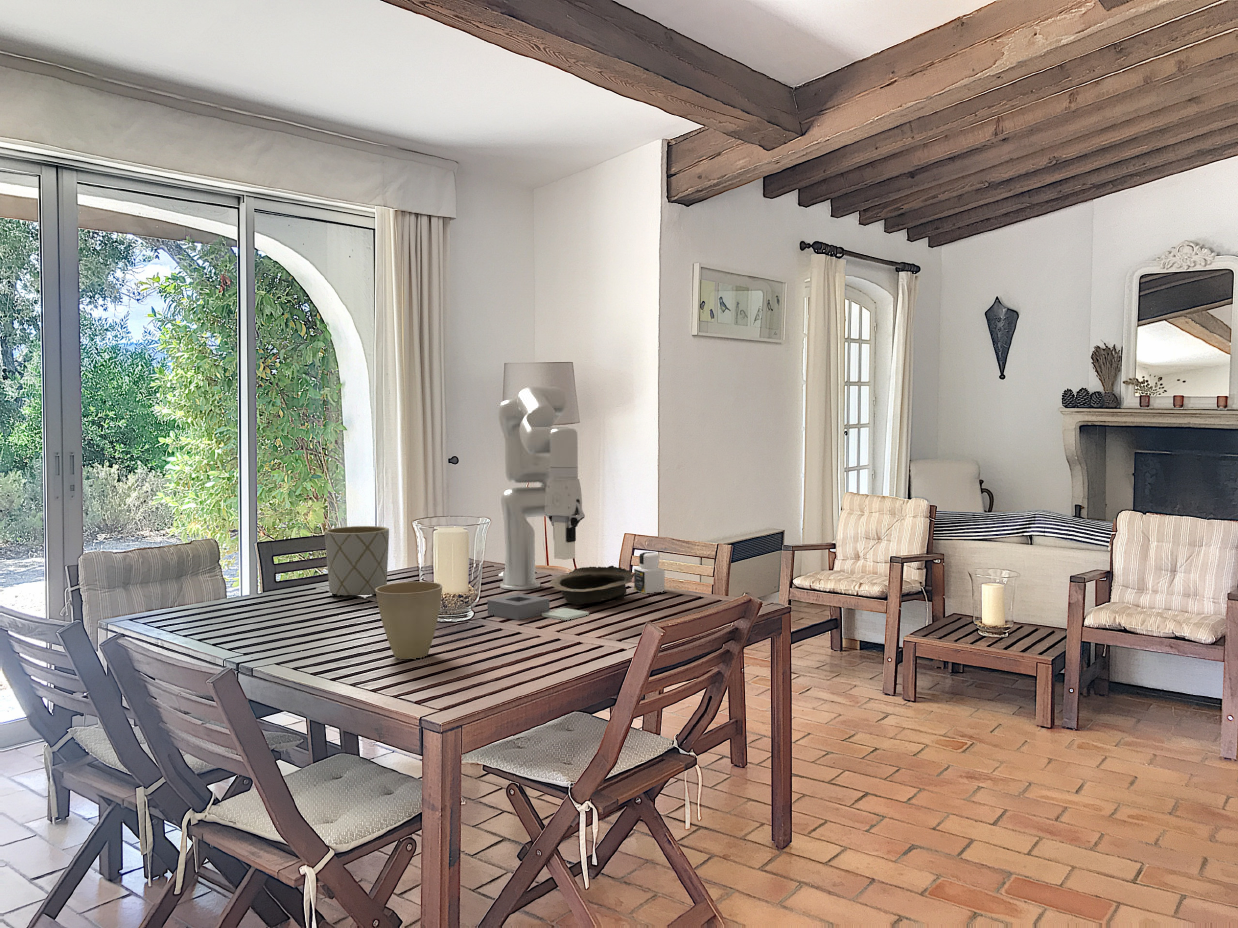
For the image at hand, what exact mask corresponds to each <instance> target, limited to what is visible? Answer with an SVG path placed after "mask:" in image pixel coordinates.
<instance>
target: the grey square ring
mask: <svg viewBox="0 0 1238 928" xmlns="http://www.w3.org/2000/svg"><path fill="white" fill-rule="evenodd" d="M486 601H487V615H488V614H489V616H493V615H494V617H499V618H506V619H511V620H516V621H520V620H525V619H529V618H533V617H534V618H535V617H538V616H542V613H545V612H550V597H549V598H548V597H542V596H536V595H530V594H524V593H514V594H510V595H506V596H505V595H504V596H499V597H495V598H491V599H486Z"/></svg>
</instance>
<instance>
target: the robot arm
mask: <svg viewBox="0 0 1238 928" xmlns="http://www.w3.org/2000/svg"><path fill="white" fill-rule="evenodd" d="M566 408H567V396H566V394H565V392H564V391H563V390H562V388H560V387H559V386H529V387H528V386H527V387H524V388H523V389H522V390H520V391H519V393H518V394H517V397H516V398H510V399H505V400H503V401H502V402H501V403H500V404H499V407H498V421H499V425H500V428H501V431H502V433H503V438H504V463H505V465H504V466H505V468H504V469H505V476H506V479H507V481H509V482H511V483H514V484H530V483H531V484H535V483H536V484H537V483H538V484H539V486H530V487H529V486H525V487H524V486H523V487H511V488H508V489H506V490H504V492H503V493H501V494H502V495H501V497H500V503H501V509H502V516H503V527H504V570H503V571H502V572H501V573H498V578H500V579H502V582H500V584H499V585H500V588H501V589H504V590H510V591H511V590H512V591H515V590H516V591H523V590H532V589H537V588H540V587H541V582H540V581H539V580H536V540H535V539H536V538H535V537H536V536H535V530H534V527H533V526H532V524H531V523H530V522H529V521H528V520H527V519H528V518H537V517H538V518H539V517H546V518H548V520H549V521H550V524H551V526H552V527H553V535H554V522H552V516H565V517H567V524H568V528H566V541H567V542H575V543H576V540H577V536H576V532H577V531H576V529H577V527H578V525H579V523H580V522H581V521H582V520H584V519H585V518H586V515H585V513H584V511H583V495H582V488H581V483H580V479H579V467H578V466H579V464H578V462H579V460H578V456H579V455H578V454H579V453H578V449H579V447H578V432H577V430H576V429H575V428H571V427H567V426H553V425H554V424H555V423H556V422H557V420H559V419H560V418H561V417H562V416H563V414H565V412H566ZM571 518H573V520H571Z"/></svg>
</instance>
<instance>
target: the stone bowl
mask: <svg viewBox="0 0 1238 928" xmlns="http://www.w3.org/2000/svg"><path fill="white" fill-rule="evenodd" d="M634 574H635V573H634V572H632V571H631V570H630V569H629V570H627V569H626V568H622V567H621V566H620V567H617V566H614V565H609V566H589V567H588V566H587V567H585V566H583V567H578V568H574V569H573V570H572V571H569V573H567V574H561V575H559V576H557V577H555V578H553V579H552V580H550V581H549V585H550V586H552V587H553V588H555V589H557V590H560V592H561V595H562V597H563V598H564V600H565V602H566V603H567V604H571V605H575V606H582V605H583V604H584V605H585V604H591V603H597V602H600V601H604V600H605V601H609V600H610V599H611V600H615V601H618V602H620V601H623V600H624V599H625V596H626V594H627V588H626V587H627V586H626V585H627V584H630V583H631V582H632V580H633V579H634V578H633V577H634Z"/></svg>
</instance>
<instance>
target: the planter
mask: <svg viewBox="0 0 1238 928" xmlns="http://www.w3.org/2000/svg"><path fill="white" fill-rule="evenodd" d="M389 538H390V529H389V528H388V527H385V526H377V525H375V526H374V525H356V526H342V527H340V526H339V527H333V528H329V529H326V530H324V544H325V545H324V546H325V554H326V555H325V557H326V568H327V576H328V589H329V594H330V593H332V594H337V595H336V596H340V595H345V596H344V597H347V596H346V595H370V594H376V590H375V589H376V588H378V587H380V586H383V585H387V584H388V567H389V565H388V564H389V563H388V561H389V546H390V545H389V543H390V542H389V541H390V540H389Z"/></svg>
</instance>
